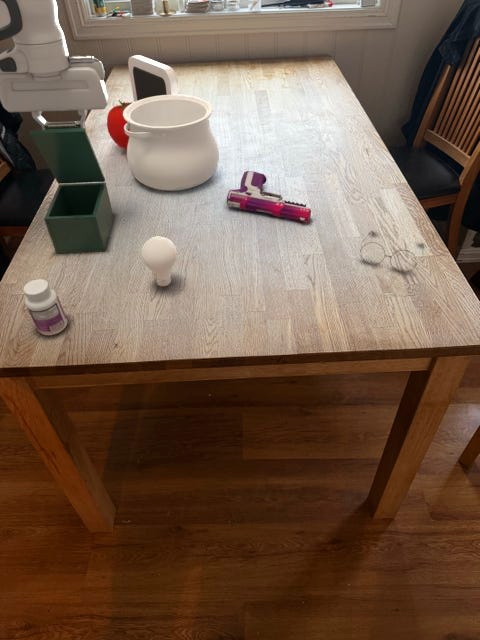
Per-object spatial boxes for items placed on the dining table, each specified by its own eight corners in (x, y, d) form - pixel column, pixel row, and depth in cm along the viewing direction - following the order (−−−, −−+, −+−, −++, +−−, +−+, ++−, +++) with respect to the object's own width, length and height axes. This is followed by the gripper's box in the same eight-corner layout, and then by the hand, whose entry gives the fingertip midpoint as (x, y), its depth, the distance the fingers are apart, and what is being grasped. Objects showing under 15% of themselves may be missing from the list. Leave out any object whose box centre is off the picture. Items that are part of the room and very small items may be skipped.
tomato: (154, 154, 133) (147, 107, 124) (112, 158, 131) (102, 111, 122) (152, 138, 141) (145, 93, 132) (112, 142, 139) (102, 97, 130)
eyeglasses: (369, 232, 103) (373, 213, 99) (425, 246, 99) (432, 227, 95) (355, 260, 96) (359, 240, 92) (415, 276, 92) (422, 256, 88)
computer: (168, 71, 118) (176, 69, 119) (125, 54, 130) (133, 52, 131) (176, 152, 133) (184, 150, 135) (138, 131, 145) (145, 128, 147)
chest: (105, 251, 99) (95, 216, 93) (56, 253, 99) (43, 218, 92) (113, 215, 109) (105, 182, 103) (69, 217, 109) (58, 184, 103)
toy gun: (322, 196, 114) (306, 228, 105) (244, 181, 120) (222, 210, 110) (324, 183, 112) (307, 214, 102) (244, 168, 117) (221, 196, 108)
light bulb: (180, 273, 93) (174, 228, 86) (181, 294, 89) (175, 248, 81) (148, 276, 93) (139, 230, 85) (147, 297, 88) (138, 251, 80)
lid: (84, 131, 88) (85, 112, 90) (29, 133, 88) (32, 114, 90) (105, 181, 103) (105, 164, 104) (58, 184, 102) (59, 166, 104)
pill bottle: (41, 316, 85) (23, 277, 78) (70, 314, 85) (54, 275, 78) (34, 337, 81) (15, 297, 74) (65, 335, 81) (48, 295, 74)
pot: (169, 206, 112) (160, 139, 100) (111, 175, 124) (96, 112, 112) (239, 170, 125) (238, 107, 113) (180, 145, 137) (174, 86, 125)
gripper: (103, 50, 86) (117, 124, 96) (-6, 53, 85) (20, 127, 95) (98, 60, 82) (113, 136, 91) (-17, 63, 81) (11, 139, 90)
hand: (65, 131), depth 93 cm, fingers closed on lid, 5 cm apart
